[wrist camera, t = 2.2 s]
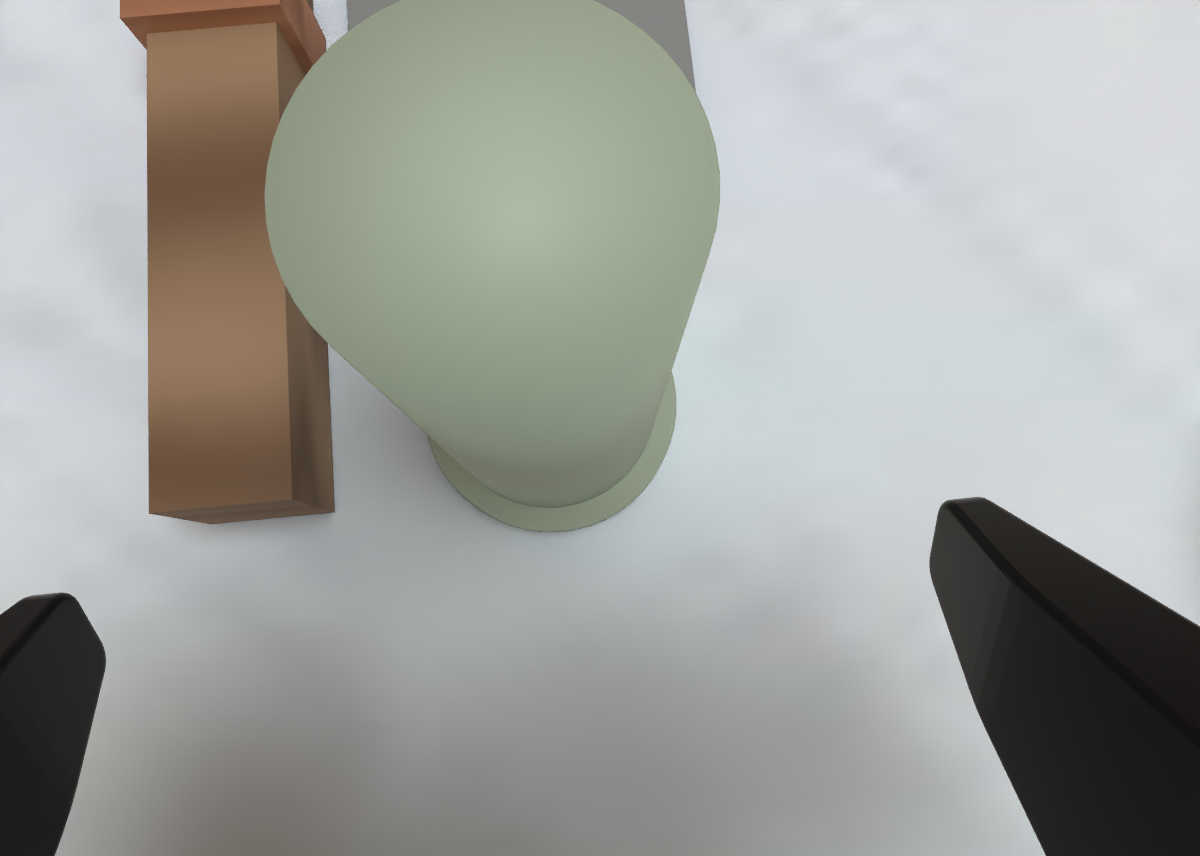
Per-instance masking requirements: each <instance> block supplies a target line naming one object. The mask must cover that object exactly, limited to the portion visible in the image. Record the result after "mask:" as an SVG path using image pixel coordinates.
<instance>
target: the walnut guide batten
mask: <svg viewBox="0 0 1200 856" xmlns="http://www.w3.org/2000/svg"><path fill="white" fill-rule="evenodd" d="M120 19H121V20H122V21H123V22H124V23H125V25H126V26H127V27H128V28H129V29H130V31H131V32H132V33H133V34H134V35H135V36H136V38H137V39H138V40H139V41H140V42H141V44H142V45H143V46H144V47H145V48H146V50H147V199H148V421H149V513H150V514H155V515H161V516H167V517H173V518H179V519H184V520H190V521H196V522H202V523H208V524H217V523H227V522H238V521H248V520H258V519H269V518H279V517H289V516H300V515H310V514H320V513H331V512H334V489H333V465H332V442H331V418H330V395H329V371H328V348H327V342H326V341H325V340H324V339H323V338H322V336H321V335H320V334H319V333H318V332H317V331H316V330H315V329H314V328H313V327H312V326H311V325H310V323H309V322H308V321H307V319H306V318H305V316H304V315H303V314H302V312H301V311H300V309H299V308H298V307H297V305H296V304H295V302H294V301H293V299H292V297H291V295H290V293H289V291H288V289H287V287H286V285H285V283H284V282H283V280H282V278H281V275H280V273H279V270H278V267H277V264H276V261H275V258H274V256H273V253H272V250H271V245H270V240H269V235H268V230H267V225H266V213H265V183H266V171H267V164H268V160H269V155H270V151H271V147H272V142H273V138H274V136H275V133H276V130H277V128H278V125H279V123H280V120H281V117H282V115H283V112H284V111H285V109H286V107H287V105H288V103H289V101H290V99H291V97H292V96H293V94H294V92H295V90H296V88H297V87H298V86H299V84H300V83H301V81H302V80H303V79H304V77H305V76H306V74H307V73H308V72H309V70H310V69H311V67H312V66H313V65H314V64H315V63H316V62H317V61H318V60H319V59H320V57H321V56H322V55H323V54H324V53H325V52H326V39H325V36H324V34H323V32H322V30H321V28H320V26H319V24H318V22H317V20H316V18H315V16H314V14H313V0H120Z"/></svg>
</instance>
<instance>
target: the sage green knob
mask: <svg viewBox="0 0 1200 856" xmlns="http://www.w3.org/2000/svg"><path fill="white" fill-rule="evenodd" d="M719 203H720V171H719V165H718V158H717V152H716V145H715V142H714V138H713V135H712V132H711V128H710V125H709V122H708V118H707V116H706V114H705V112H704V110H703V107H702V105H701V103H700V101H699V99H698V96H697V94H696V92H695V91H694V89H693V88H692V86H691V85H690V83H689V81H688V80H687V78H686V77H685V75H684V74H683V72H682V70H681V69H680V68H679V67H678V66H677V64H676V63H675V62H674V61H673V60H672V58H671V57H670V56H669V55H668V54H667V52H666V51H665V50H664V49H663V48H662V47H661V46H660V45H659V44H658V43H656V42H655V41H654V40H653V39H652V38H651V37H650V36H649V35H648V34H647V33H646V32H644V31H643V30H642V29H641V28H639V27H638V26H636V25H635V24H633V23H632V22H631V21H629V20H628V19H626V18H625V17H623V16H622V15H621V14H619V13H617V12H615V11H613V10H611V9H609V8H608V7H606V6H604V5H602V4H600V3H598V2H596V1H594V0H400V1H398V2H396V3H394V4H392V5H390V6H388V7H386V8H384V9H382V10H380V11H378V12H376V13H375V14H373V15H371V16H370V17H368V18H367V19H365V20H364V21H362V22H361V23H359V24H358V25H356V26H355V27H353V28H352V29H351V30H350V31H348V32H347V33H346V34H345V35H344V36H342V37H341V38H340V39H339V40H338V41H336V42H335V43H334V44H333V45H332V46H331V47H330V48H329V49H328V50H327V51H326V52H325V53H324V54H323V55H322V56H321V57H320V59H319V60H318V61H317V62H316V63H315V64H314V65H313V66H312V67H311V69H310V70H309V72H308V73H307V74H306V76H305V77H304V79H303V80H302V81H301V83H300V84H299V86H298V87H297V88H296V90H295V92H294V94H293V96H292V97H291V99H290V101H289V103H288V105H287V107H286V109H285V111H284V112H283V115H282V117H281V120H280V123H279V125H278V128H277V130H276V133H275V136H274V138H273V142H272V147H271V151H270V155H269V160H268V164H267V171H266V183H265V213H266V225H267V230H268V235H269V240H270V245H271V250H272V253H273V256H274V258H275V261H276V264H277V267H278V270H279V273H280V275H281V278H282V280H283V282H284V283H285V285H286V287H287V289H288V291H289V293H290V295H291V297H292V299H293V301H294V302H295V304H296V305H297V307H298V308H299V309H300V311H301V312H302V314H303V315H304V316H305V318H306V319H307V321H308V322H309V323H310V325H311V326H312V327H313V328H314V329H315V330H316V331H317V332H318V333H319V334H320V335H321V336H322V338H323V339H324V340H325V341H326V342H327V343H328V344H329V345H330V346H331V347H332V348H333V349H334V350H335V351H336V352H338V353H339V354H340V355H341V356H342V357H343V358H344V359H345V360H346V361H347V362H349V363H350V364H351V365H352V366H353V367H354V368H355V369H356V370H357V371H358V372H360V373H361V374H362V375H363V376H364V377H365V378H366V379H367V380H368V381H369V382H371V383H372V384H373V385H374V386H375V387H376V388H377V389H378V390H379V391H380V392H381V393H383V394H384V395H385V396H386V397H387V398H388V399H389V400H390V401H391V402H392V403H394V404H395V405H396V406H397V407H398V408H399V409H400V410H401V411H402V412H403V413H405V414H406V415H407V416H408V417H409V418H410V419H411V420H412V421H413V422H414V423H415V424H417V425H418V426H419V427H420V428H421V429H422V430H423V431H424V432H425V433H426V434H427V435H428V439H429V443H430V445H431V448H432V451H433V454H434V456H435V458H436V460H437V462H438V464H439V466H440V468H441V470H442V471H443V473H444V474H445V475H446V477H447V478H448V480H449V481H450V482H451V484H452V485H453V486H454V487H455V488H456V489H457V490H458V491H459V492H460V493H461V494H462V496H463V497H465V498H466V499H467V500H468V501H470V502H471V503H472V504H473V505H475V506H476V507H477V508H479V509H480V510H482V511H483V512H485V513H487V514H488V515H490V516H492V517H493V518H495V519H497V520H499V521H502V522H504V523H506V524H509V525H511V526H515V527H518V528H522V529H525V530H532V531H539V532H563V531H572V530H577V529H581V528H585V527H588V526H591V525H594V524H596V523H599V522H601V521H604V520H606V519H608V518H609V517H611V516H613V515H615V514H616V513H618V512H620V511H621V510H622V509H624V508H625V507H626V506H628V505H629V504H630V503H632V502H633V501H634V500H635V499H636V498H637V497H638V496H639V495H640V494H641V493H642V492H643V491H644V489H645V488H646V487H647V486H648V484H649V483H650V482H651V480H652V479H653V477H654V476H655V474H656V472H657V471H658V469H659V467H660V465H661V463H662V461H663V459H664V457H665V455H666V452H667V450H668V447H669V445H670V442H671V438H672V434H673V431H674V425H675V418H676V392H675V385H674V379H673V375H672V372H671V370H672V367H673V364H674V361H675V358H676V355H677V352H678V349H679V346H680V343H681V339H682V336H683V333H684V330H685V327H686V324H687V321H688V318H689V315H690V312H691V309H692V306H693V302H694V299H695V296H696V293H697V290H698V287H699V284H700V281H701V278H702V275H703V272H704V269H705V265H706V262H707V259H708V256H709V253H710V249H711V245H712V242H713V238H714V234H715V231H716V227H717V219H718V211H719Z"/></svg>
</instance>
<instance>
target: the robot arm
mask: <svg viewBox="0 0 1200 856" xmlns="http://www.w3.org/2000/svg"><path fill="white" fill-rule="evenodd" d="M930 574H931V579H932V582H933V585H934V588H935V591H936V594H937V597H938V600H939V603H940V606H941V608H942V611H943V614H944V617H945V620H946V623H947V626H948V629H949V632H950V635H951V638H952V640H953V643H954V646H955V649H956V652H957V655H958V658H959V661H960V664H961V667H962V670H963V672H964V675H965V678H966V681H967V684H968V687H969V690H970V692H971V695H972V698H973V700H974V703H975V706H976V709H977V711H978V713H979V715H980V718H981V720H982V722H983V724H984V727H985V729H986V731H987V733H988V735H989V737H990V739H991V742H992V744H993V746H994V748H995V750H996V752H997V754H998V756H999V758H1000V760H1001V763H1002V765H1003V767H1004V769H1005V771H1006V773H1007V775H1008V777H1009V779H1010V781H1011V783H1012V786H1013V788H1014V790H1015V792H1016V794H1017V796H1018V798H1019V800H1020V802H1021V804H1022V806H1023V809H1024V811H1025V813H1026V815H1027V817H1028V819H1029V821H1030V823H1031V825H1032V827H1033V830H1034V832H1035V834H1036V836H1037V838H1038V840H1039V842H1040V844H1041V846H1042V848H1043V850H1044V853H1045V855H1046V856H1200V626H1198V625H1197V624H1195V623H1193V622H1192V621H1190V620H1188V619H1187V618H1185V617H1183V616H1182V615H1180V614H1178V613H1177V612H1175V611H1173V610H1172V609H1170V608H1168V607H1167V606H1165V605H1163V604H1162V603H1160V602H1158V601H1157V600H1155V599H1153V598H1152V597H1150V596H1148V595H1147V594H1145V593H1143V592H1142V591H1140V590H1138V589H1137V588H1135V587H1133V586H1132V585H1130V584H1128V583H1127V582H1125V581H1123V580H1122V579H1120V578H1118V577H1117V576H1115V575H1113V574H1112V573H1110V572H1108V571H1107V570H1105V569H1103V568H1102V567H1100V566H1098V565H1097V564H1095V563H1093V562H1092V561H1090V560H1088V559H1086V558H1085V557H1083V556H1081V555H1080V554H1078V553H1076V552H1075V551H1073V550H1071V549H1070V548H1068V547H1066V546H1065V545H1063V544H1061V543H1060V542H1058V541H1056V540H1055V539H1053V538H1051V537H1050V536H1048V535H1046V534H1045V533H1043V532H1041V531H1040V530H1038V529H1036V528H1035V527H1033V526H1031V525H1030V524H1028V523H1026V522H1025V521H1023V520H1021V519H1020V518H1018V517H1016V516H1015V515H1013V514H1011V513H1010V512H1008V511H1006V510H1005V509H1003V508H1001V507H1000V506H998V505H996V504H995V503H993V502H991V501H989V500H987V499H985V498H982V497H972V498H963V499H953V500H948V501H946V502H944V503H943V504H942V505H941V507H940V509H939V512H938V516H937V521H936V527H935V532H934V537H933V543H932V548H931V553H930ZM105 666H106V656H105V651H104V647H103V644H102V642H101V641H100V639H99V637H98V635H97V634H96V632H95V630H94V628H93V627H92V625H91V623H90V621H89V620H88V618H87V616H86V615H85V613H84V611H83V609H82V608H81V606H80V604H79V602H78V601H77V600H76V598H74V597H73V596H72V595H70V594H68V593H52V594H43V595H33V596H29V597H26V598H23V599H22V600H20V601H19V602H17V603H16V604H14V605H13V606H12V607H10V608H9V609H8V610H6V611H5V612H3V613H2V614H1V615H0V856H55V853H56V851H57V848H58V845H59V842H60V839H61V837H62V834H63V831H64V828H65V825H66V822H67V819H68V816H69V813H70V810H71V806H72V803H73V799H74V795H75V792H76V788H77V785H78V780H79V776H80V772H81V768H82V764H83V760H84V755H85V751H86V747H87V743H88V739H89V735H90V731H91V726H92V722H93V718H94V714H95V710H96V706H97V701H98V697H99V693H100V689H101V685H102V681H103V676H104V672H105Z"/></svg>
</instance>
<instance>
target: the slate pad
mask: <svg viewBox="0 0 1200 856" xmlns="http://www.w3.org/2000/svg"><path fill="white" fill-rule="evenodd" d="M398 1H400V0H347V9H348V29H349V31H350V30H351V29H352V28H353V27H355V26H356V25H358V24H359V23H361V22H362V21H364V20H365V19H367V18H368V17H370V16H371V15H373V14H375V13H376V12H378V11H380V10H382V9H384V8H386V7H388V6H390V5H392V4H394V3H396V2H398ZM594 1H596V2H598V3H600V4H602V5H604V6H606V7H608V8H609V9H611V10H613V11H615V12H617V13H619V14H621V15H622V16H623V17H625V18H626V19H628V20H629V21H631V22H632V23H633V24H635V25H636V26H638V27H639V28H641V29H642V30H643V31H644V32H646V33H647V34H648V35H649V36H650V37H651V38H652V39H653V40H654V41H655V42H656V43H658V44H659V45H660V46H661V47H662V48H663V49H664V50H665V51H666V52H667V54H668V55H669V56H670V57H671V58H672V60H673V61H674V62H675V63H676V64H677V66H678V67H679V68H680V69H681V70H682V72H683V74H684V75H685V77H686V78H687V80H688V81H689V83H690V85H691V86H692V88H693V89H694V91H695V92H696V90H695V82H694V74H693V67H692V59H691V51H690V43H689V35H688V28H687V20H686V12H685V4H684V0H594Z"/></svg>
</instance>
